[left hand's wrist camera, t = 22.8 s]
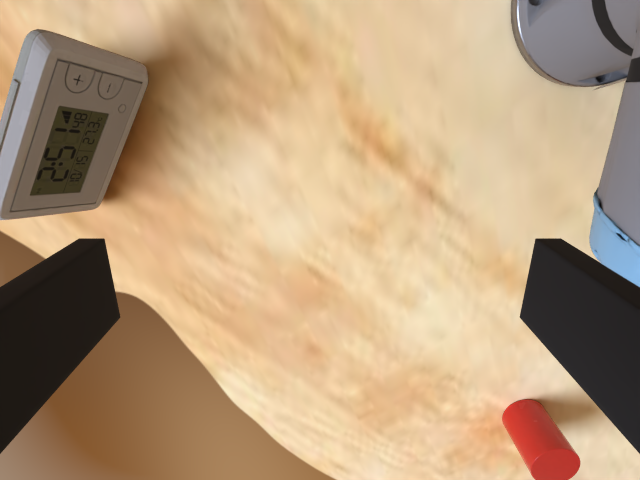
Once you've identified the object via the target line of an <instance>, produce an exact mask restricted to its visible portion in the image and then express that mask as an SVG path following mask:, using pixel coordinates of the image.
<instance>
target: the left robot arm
mask: <svg viewBox="0 0 640 480" xmlns="http://www.w3.org/2000/svg"><path fill="white" fill-rule="evenodd" d="M511 23H512V29H513V34H514V38H515V41H516V44H517V46H518V48H519V51H520V53H521V54H522V56H523V58H524V59H525V61H526V62H527V63H528V64H529V66H530V67H531V68H532V69H533V70H534V71H535V72H537V73H538V74H539V75H541V76H542V77H544V78H545V79H547V80H549V81H552V82H554V83H557V84H560V85H565V86H573V87H589V86H599V85H602V86H600V87H598V88H596V89H599V88H602V87H605V86H608V85H612V84H615V83H618V82H621V81H625V80H626V82H625V85H624V89H623V93H622V97H621V101H620V105H619V109H618V113H617V118H616V122H615V126H614V130H613V134H612V138H611V142H610V146H609V150H608V153H607V157H606V161H605V165H604V168H603V172H602V176H601V180H600V184H599V187H598V188H597V190H596V192H595V193H594V196H593V202H594V207H595V209H594V215H593V220H592V225H591V230H590V237H589V239H590V246H591V250H592V252H593V253H594V255H595V257H596V258H597V259H598V260H599V261H600V262H598V261H596V260H595V259H593V258H591V257H590V256H588V255H587V254H585V253H583V252H582V251H580V250H578V249H577V248H575V247H574V246H572V245H570V244H569V243H567V242H565V241H564V240H562V239H535V244H534V249H533V254H532V259H531V264H530V269H529V274H528V279H527V284H526V289H525V294H524V299H523V304H522V309H521V313H520V318H521V319H522V320H523V322H524V323H525V324H526V325H527V326H528V327H529V328H530V330H531V331H532V332H533V333H534V334H535V335H536V336H537V337H538V339H539V340H540V341H541V342H542V343H543V344H544V345H545V347H546V348H547V349H548V350H549V351H550V352H551V353H552V355H553V356H554V357H555V358H556V359H557V360H558V361H559V363H560V364H561V365H562V366H563V367H564V368H565V369H566V370H567V372H568V373H569V374H570V375H571V376H572V377H573V378H574V380H575V381H576V382H577V383H578V384H579V385H580V386H581V388H582V389H583V390H584V391H585V392H586V393H587V394H588V395H589V397H590V398H591V399H592V400H593V401H594V402H595V403H596V405H597V406H598V407H599V408H600V409H601V410H602V411H603V413H604V414H605V415H606V416H607V417H608V418H609V419H610V420H611V422H612V423H613V424H614V425H615V426H616V427H617V428H618V430H619V431H620V432H621V433H622V434H623V435H624V436H625V438H626V439H627V440H628V441H629V442H630V443H631V444H632V445H633V447H634V448H635V449H636V450H637V451H638V452H639V453H640V0H512V1H511ZM624 78H625V79H624ZM604 84H605V85H604ZM596 89H594V90H596ZM119 318H120V314H119V309H118V304H117V299H116V294H115V289H114V284H113V279H112V274H111V269H110V264H109V259H108V254H107V249H106V244H105V239H78V240H76V241H75V242H73V243H71V244H70V245H68V246H66V247H65V248H63V249H62V250H60V251H58V252H57V253H55V254H53V255H52V256H50V257H49V258H47V259H45V260H44V261H42V262H41V263H39V264H37V265H36V266H34V267H32V268H31V269H29V270H27V271H26V272H24V273H23V274H21V275H19V276H18V277H16V278H15V279H13V280H11V281H10V282H8V283H6V284H5V285H3V286H1V287H0V453H1V452H2V451H3V450H4V449H5V448H6V447H7V445H8V444H9V443H10V442H11V441H12V440H13V439H14V438H15V436H16V435H17V434H18V433H19V432H20V431H21V430H22V428H23V427H24V426H25V425H26V424H27V423H28V422H29V420H30V419H31V418H32V417H33V416H34V415H35V414H36V412H37V411H38V410H39V409H40V408H41V407H42V406H43V405H44V403H45V402H46V401H47V400H48V399H49V398H50V397H51V395H52V394H53V393H54V392H55V391H56V390H57V389H58V388H59V386H60V385H61V384H62V383H63V382H64V381H65V380H66V378H67V377H68V376H69V375H70V374H71V373H72V372H73V370H74V369H75V368H76V367H77V366H78V365H79V364H80V362H81V361H82V360H83V359H84V358H85V357H86V356H87V355H88V353H89V352H90V351H91V350H92V349H93V348H94V347H95V345H96V344H97V343H98V342H99V341H100V340H101V339H102V337H103V336H104V335H105V334H106V333H107V332H108V331H109V330H110V328H111V327H112V326H113V325H114V324H115V323H116V322H117V320H118V319H119Z"/></svg>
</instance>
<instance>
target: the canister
mask: <svg viewBox="0 0 640 480" xmlns="http://www.w3.org/2000/svg"><path fill="white" fill-rule="evenodd" d="M502 421H503V424H504V426H505V428H506V430H507V431H508V433H509V435H510V437H511V439H512V440H513V442H514V444H515V446H516V448H517V449H518V451H519V453H520V455H521V457H522V458H523V460H524V462H525V464H526V466H527V467H528V469H529V471H530V473H531V475H532V476H533V478H534V479H535V480H569V479H570V478H572V477H573V476H574V475H575V474H576V473H577V471H578V470H579V467H580V458H579V456H578V455H577V453H576V452H575V451H574V449H573V448H572V446H571V445H570V444H569V442H568V441H567V439H566V438H565V437H564V435H563V434H562V432H561V431H560V430H559V428H558V427H557V425H556V424H555V423H554V421H553V420H552V418H551V417H550V416H549V414H548V413H547V411H546V410H545V409H544V407H543V406H542V405H541V404H540V403H539V402H537V401H534V400H528V399H526V400H520V401H517V402H515V403H513V404H511V405H510V406H509V407H508V408H507V409H506V410H505V411H504V413H503V417H502Z"/></svg>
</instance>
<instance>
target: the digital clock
mask: <svg viewBox="0 0 640 480" xmlns="http://www.w3.org/2000/svg"><path fill="white" fill-rule="evenodd" d="M147 85H148V74H147V69H146V67H145V66H144V65H143V64H141V63H139V62H137V61H135V60H132V59H129V58H126V57H124V56H121V55H118V54H115V53H112V52H109V51H106V50H103V49H100V48H98V47H95V46H92V45H89V44H86V43H83V42H80V41H77V40H75V39H72V38H69V37H66V36H63V35H60V34H57V33H54V32H50V31H46V30H40V29H36V30H33V31H31V32H30V33H29V34H28V35H27V36H26V38H25V40H24V42H23V45H22V48H21V52H20V55H19V58H18V61H17V65H16V68H15V72H14V75H13V79H12V82H11V86H10V89H9V93H8V96H7V100H6V103H5V107H4V111H3V114H2V118H1V121H0V220H8V219H19V218H27V217H36V216H44V215H53V214H61V213H70V212H78V211H87V210H92V209H95V208H97V207H98V206H99V205H100V204H101V202H102V200H103V197H104V195H105V193H106V190H107V188H108V185H109V183H110V180H111V178H112V175H113V173H114V170H115V168H116V165H117V162H118V160H119V157H120V155H121V152H122V150H123V147H124V145H125V142H126V139H127V137H128V134H129V132H130V129H131V127H132V124H133V122H134V119H135V117H136V114H137V111H138V109H139V106H140V104H141V101H142V99H143V96H144V93H145V90H146V88H147Z"/></svg>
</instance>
